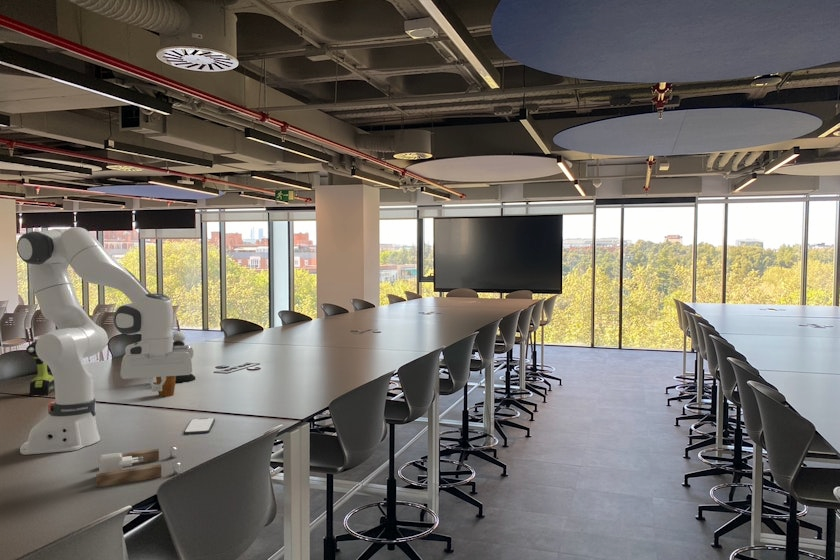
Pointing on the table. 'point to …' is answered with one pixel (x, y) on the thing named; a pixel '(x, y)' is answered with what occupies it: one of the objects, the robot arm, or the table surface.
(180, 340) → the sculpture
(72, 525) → the table surface
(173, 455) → the steel pins
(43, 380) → the cordless drill
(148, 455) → the walnut slot
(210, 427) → the smartphone
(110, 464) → the power adapter
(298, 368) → the table surface
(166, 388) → the disposable coffee cup
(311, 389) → the table surface
